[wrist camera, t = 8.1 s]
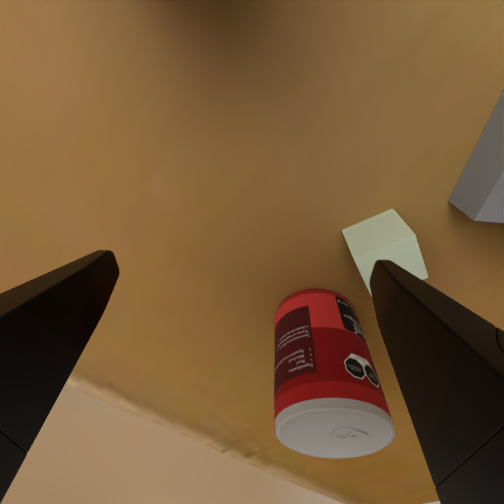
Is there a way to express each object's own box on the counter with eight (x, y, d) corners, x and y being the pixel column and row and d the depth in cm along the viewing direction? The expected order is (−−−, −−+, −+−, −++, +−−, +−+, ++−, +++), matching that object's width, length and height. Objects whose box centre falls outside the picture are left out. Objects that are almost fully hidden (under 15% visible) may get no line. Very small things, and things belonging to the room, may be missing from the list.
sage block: (341, 229, 22) (353, 258, 18) (392, 207, 20) (415, 234, 17) (357, 264, 24) (371, 296, 20) (405, 246, 22) (428, 277, 19)
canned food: (352, 337, 29) (387, 461, 20) (277, 340, 30) (279, 458, 21) (358, 283, 25) (407, 408, 16) (271, 288, 26) (269, 408, 17)
